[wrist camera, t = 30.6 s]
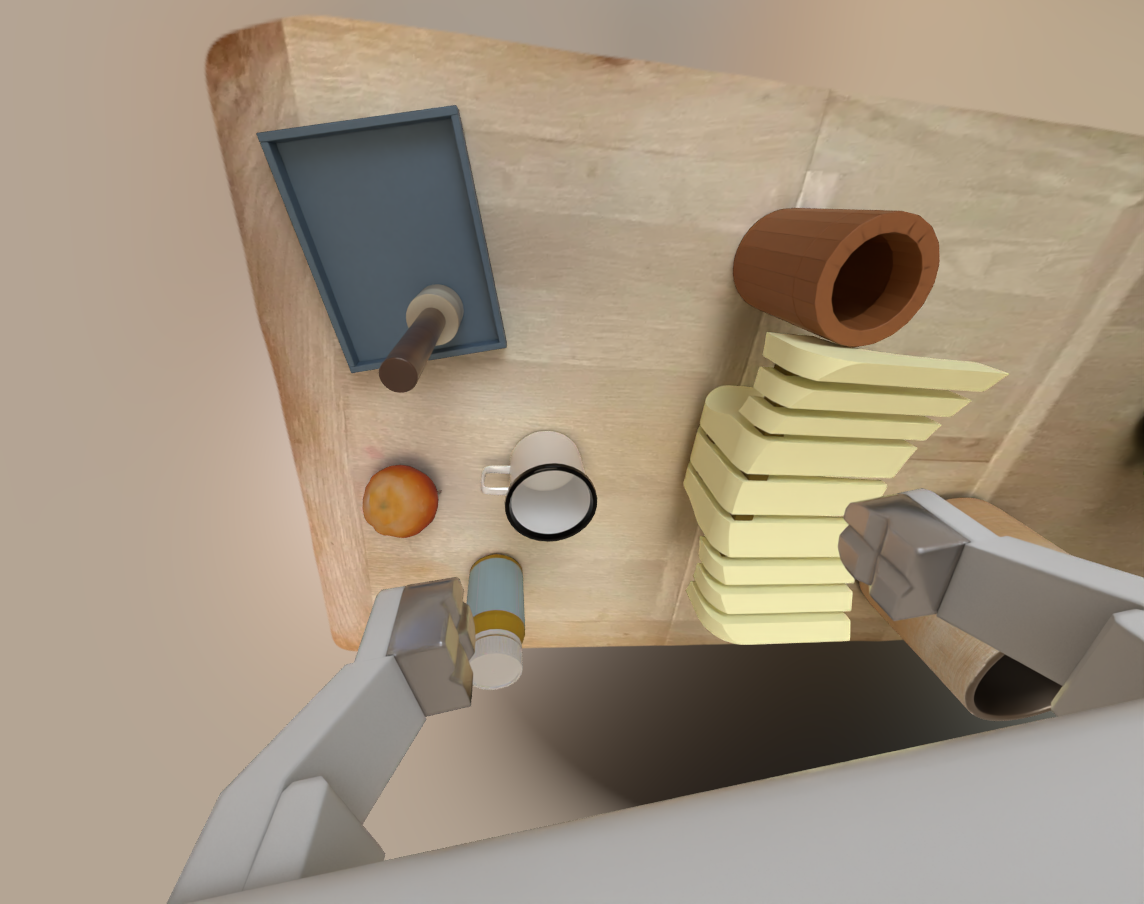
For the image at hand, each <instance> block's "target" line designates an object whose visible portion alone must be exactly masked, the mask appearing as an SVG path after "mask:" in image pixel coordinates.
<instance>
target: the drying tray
mask: <svg viewBox="0 0 1144 904" xmlns="http://www.w3.org/2000/svg"><path fill="white" fill-rule="evenodd" d="M256 134H257V136H258V139H259V142H261V143H260V144H261V146H262V149H263V151H264V154H265V157H266V159H267V162H268V164H269V167H270V169H271V172H272V174H273V177H274V179H275V182H276V184H277V187H278V189H279V192H280V194H281V197H282V199H283V202H284V204H285V207H286V209H287V212H288V214H289V217H290V219H291V222H292V225H293V227H294V230H295V232H296V235H297V237H298V240H299V242H300V245H301V247H302V250H303V252H304V255H305V257H306V260H307V262H308V265H309V267H310V270H311V272H312V275H313V277H314V280H315V282H316V285H317V287H318V290H319V293H320V295H321V298H322V300H323V303H324V305H325V308H326V310H327V313H328V315H329V318H330V320H331V323H332V325H333V328H334V330H335V333H336V335H337V338H338V340H339V343H340V345H341V348H342V350H343V353H344V355H345V358H346V360H347V363H348V366H349V368H350V371H351V373H356V372H362V371H368V370H374V369H379V368H380V366H381V364H382V363H383V361H384V360H385V359H386V357H387V356H388V355H389V353H390V352H391V351H392V350H393V348H394V347H395V346H396V344H397V343H398V342H399V340H400V339H401V338H402V337H403V335H404V334H405V333H406V331H407V330H408V329H409V328H408V325H407V322H406V312H407V308H408V306H409V304H410V303H411V301H412V300H413V299H414V298H415V297H416V296H417V295H418V294H419V293H420V292H421V291H422V290H423V289H424V288H426V287H427V286H430V285H435V284H440V285H444V286H447V287H449V288H451V289H452V290H454V291H455V292H456V293H457V294H458V296H459V297H460V299H461V301H462V304H463V309H464V312H463V318H462V320H461V323H460V325H459V328H458V331H457V333H456V335H455V336H454V338H453V339H452V340H450V341H449V342H447V343H446V344H443V345H437V346H435V347H434V349H433V351H432V353H431V355H430V357H429V359H428V360H434V359H441V358H447V357H453V356H459V355H465V354H471V353H477V352H483V351H489V350H495V349H501V348H506V347H507V341H506V336H505V332H504V327H503V322H502V317H501V312H500V307H499V302H498V298H497V293H496V288H495V283H494V278H493V273H492V268H491V264H490V259H489V254H488V249H487V244H486V239H485V234H484V230H483V225H482V220H481V215H480V210H479V205H478V200H477V196H476V191H475V186H474V181H473V176H472V171H471V166H470V162H469V157H468V152H467V147H466V142H465V137H464V132H463V128H462V123H461V118H460V113H459V109H458V108H457V106H456V105H453V106H446V107H438V108H431V109H424V110H417V111H410V112H403V113H396V114H389V115H381V116H374V117H367V118H360V119H353V120H346V121H339V122H331V123H324V124H317V125H310V126H303V127H296V128H289V129H282V130H274V131H267V132H260V133H256Z"/></svg>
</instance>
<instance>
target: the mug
mask: <svg viewBox="0 0 1144 904" xmlns="http://www.w3.org/2000/svg"><path fill="white" fill-rule="evenodd" d="M488 473H501V474H510V486H509V487H486V486H485V485H484V481H485V476H486V474H488ZM481 491H482V493H484V494H489V495H505V496H506V497H505V512H506V515H507V518H508V520H509V522H510V524H511V525H512V526H513V527H514V528H515V530H516V531H518V532H519V533H521V534H522V535H523V536H526V537H528V538H530V539H534V540H538V541H547V542H549V541H558V540H563V539H566V538H569V537H571V536H573V535H575V534H577V533H578V532H580V531H581V530H582V529H584V528H585V527H586V526H587V525H588V524H589V522H590V521H591V520H592V518H593V516H594V514H595V511H596V508H597V495H596V490H595V487H594V485H593V483H592V481H591V480H590V479H589V478H588V476H587V475H586V474H585V471H584V467H583V464H582V460H581V456H580V453H579V450H578V448H577V446H576V445H575V443H574V442H573V441H572V440H571V439H570V438H568V437H567V436H565V435H563V434H561V433H558V432H554V431H540V432H535V433H532V434H530V435H528V436H526V437H525V438H523V439H522V440H521V441H520V442H518V443H517V445H516V446H515V448H514V449H513V451H512V454H511V457H510V466H487V467H485V468H484V469H483V471H482V475H481Z"/></svg>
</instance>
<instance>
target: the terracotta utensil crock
mask: <svg viewBox="0 0 1144 904" xmlns="http://www.w3.org/2000/svg"><path fill="white" fill-rule="evenodd" d="M938 267H939V242H938V239H937V237H936V235H935V232H934V230H933V228H932V226H931V225H930V224H929V223H927V222H926V221H925V220H924V219H923V218H922V217H921V216H919V215H916V214H912V213H908V212H904V211H883V210H847V209H811V208H791V209H781V210H777V211H774V212H772V213H770V214H768V215H766V216H764V217H763V218H761V219H760V220H759V221H757V222H756V223H755V224H754V225H753V226H752V227H751V228H750V229H749V231H748V232H747V233H746V235H745V236H744V238H743V239H742V241H741V243H740V245H739V247H738V249H737V252H736V255H735V260H734V267H733V276H734V282H735V286H736V289H737V291H738V293H739V294H740V296H741V297H742V298H743V300H744V301H746V302H747V303H748V304H750V305H751V306H753V307H755V308H757V309H759V310H761V311H763V312H766V313H768V314H770V315H773V316H775V317H777V318H779V319H782V320H784V321H786V322H789V323H791V324H793V325H796V326H798V327H800V328H802V329H805V330H807V331H809V332H812V333H814V334H816V335H819V336H821V337H823V338H825V339H828V340H830V341H832V342H835V343H837V344H839V345H845V346H851V347H859V346H864V345H870V344H874V343H876V342H878V341H881V340H883V339H885V338H887V337H889V336H891V335H893V334H894V333H895V332H897V331H898V330H899V329H900V328H902V327H903V326H904V325H906V324H907V323H908V321H910V320H911V318H912V317H913V316H914V315H915V314H916V313H917V311H918V310H919V309H920V308H921V307H922V305H923V304H924V302H925V300H926V298H927V296H928V295H929V293H930V291H931V289H932V287H933V284H934V282H935V279H936V275H937V271H938Z"/></svg>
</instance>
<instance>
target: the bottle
mask: <svg viewBox="0 0 1144 904" xmlns="http://www.w3.org/2000/svg"><path fill="white" fill-rule="evenodd" d="M467 604H468V605H469V606H470V609H471V612H472V615H473V620H474V624H475V638H476V643H475V653H474V655H473V656H472V658H471V659H470V660H469V663H470V666H471V668H472V671H473V686H475V687H477V688H480V689H486V690H496V689H501V688H505V687H507V686H510V685H511V684H513V683H514V682H516V681H517V680H518V679H519V677H520V676H521V673H522V669H523V664H522V642H523V640H524V636H525V617H524V593H523V575H522V568H521V566H520V565H519V563H518V562H517V561H515V560H514V559H513V558H511V557H508V556H505V555H500V554H495V555H489V556H486V557H484V558H481V559H480V560H478V561H477V562H476V563H475V564H474V565H473V566H472V568H471V571H470V576H469V584H468V594H467Z"/></svg>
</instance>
